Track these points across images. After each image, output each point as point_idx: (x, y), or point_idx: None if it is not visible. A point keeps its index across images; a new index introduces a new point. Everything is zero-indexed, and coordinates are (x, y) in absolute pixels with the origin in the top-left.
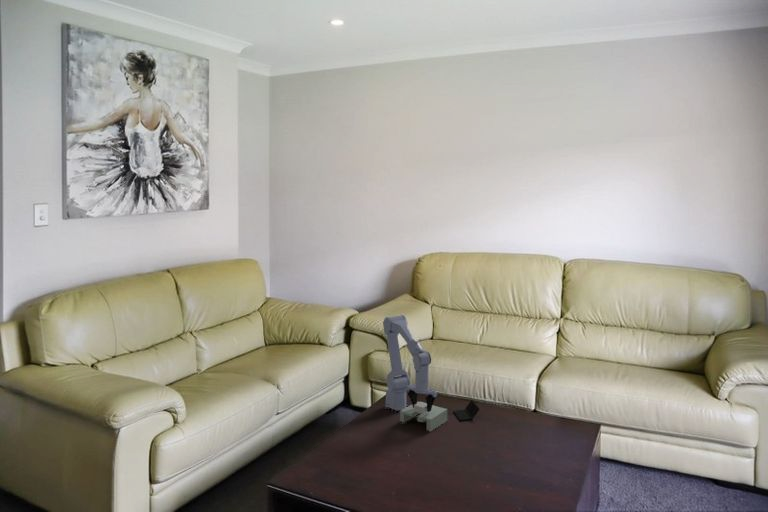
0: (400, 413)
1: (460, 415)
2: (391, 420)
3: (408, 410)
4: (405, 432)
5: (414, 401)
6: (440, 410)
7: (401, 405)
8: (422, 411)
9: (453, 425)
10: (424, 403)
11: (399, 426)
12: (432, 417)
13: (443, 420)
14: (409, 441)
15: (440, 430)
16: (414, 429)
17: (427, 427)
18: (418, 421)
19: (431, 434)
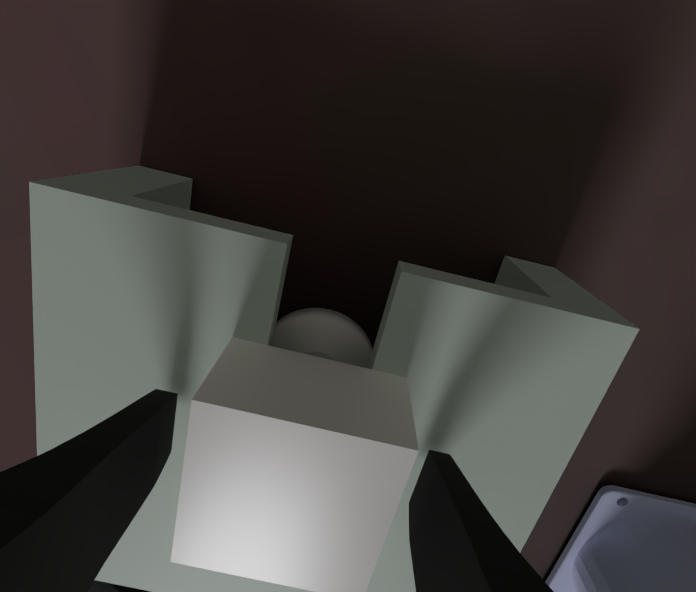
0: (607, 310)
1: None
2: (668, 291)
3: (503, 387)
4: (410, 12)
5: (446, 558)
6: None
7: (635, 570)
8: (241, 361)
9: (22, 395)
10: (262, 559)
11: (536, 166)
12: (48, 270)
13: None
14: None
15: None
16: (334, 154)
17: (163, 181)
18: (339, 313)
19: (93, 95)
